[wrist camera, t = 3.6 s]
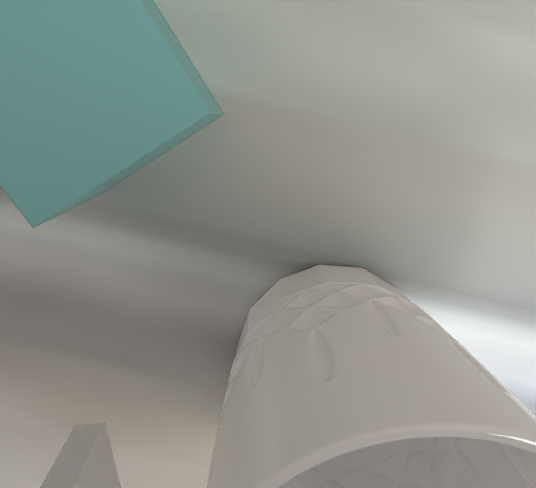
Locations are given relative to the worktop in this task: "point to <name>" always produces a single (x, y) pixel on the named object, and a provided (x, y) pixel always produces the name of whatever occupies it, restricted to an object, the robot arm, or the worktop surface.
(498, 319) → the worktop surface
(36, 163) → the teal painted block
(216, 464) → the white cup
